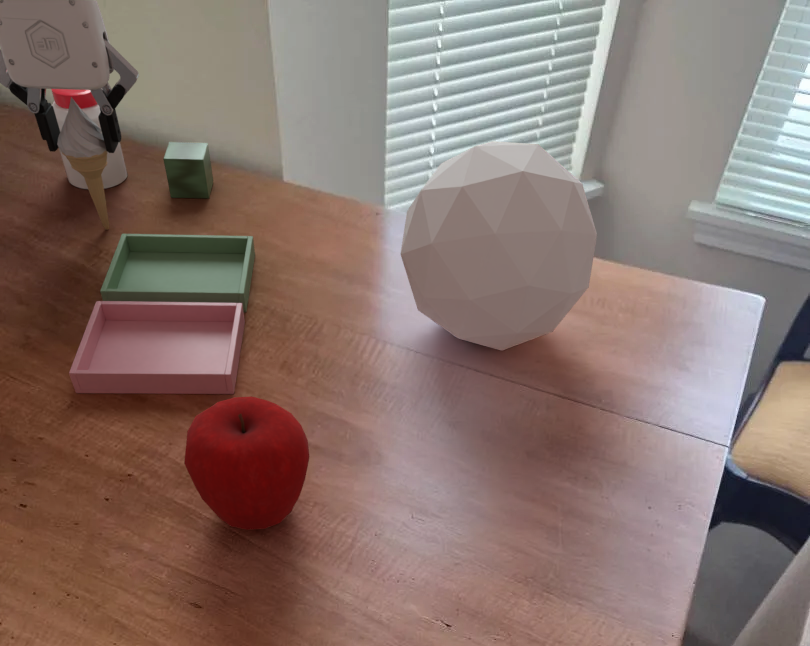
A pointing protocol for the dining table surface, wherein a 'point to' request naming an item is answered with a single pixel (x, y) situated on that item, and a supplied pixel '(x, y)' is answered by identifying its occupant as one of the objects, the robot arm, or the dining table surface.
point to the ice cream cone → (85, 154)
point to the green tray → (180, 269)
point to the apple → (247, 461)
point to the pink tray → (160, 348)
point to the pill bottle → (116, 164)
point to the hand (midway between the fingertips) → (84, 145)
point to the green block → (188, 170)
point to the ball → (499, 244)
